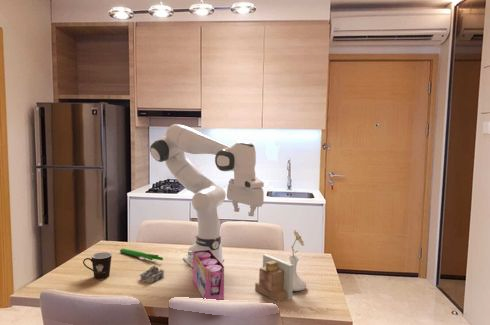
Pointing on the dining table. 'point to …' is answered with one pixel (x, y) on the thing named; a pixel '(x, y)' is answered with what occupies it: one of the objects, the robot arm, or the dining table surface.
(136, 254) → the green onion
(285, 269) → the bookend
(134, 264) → the dining table surface
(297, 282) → the flower in vase
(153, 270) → the grey jagged rock
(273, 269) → the wooden block
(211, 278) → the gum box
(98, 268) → the coffee mug
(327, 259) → the dining table surface
